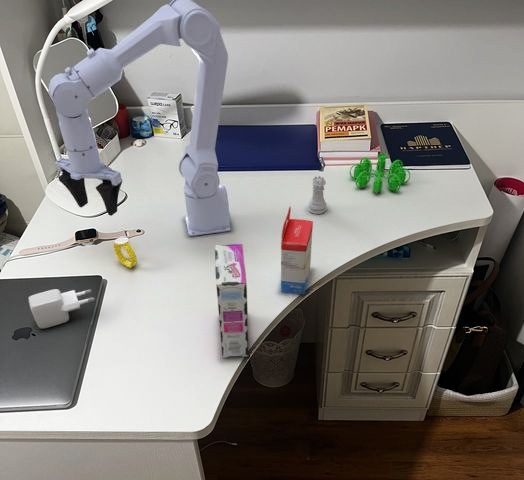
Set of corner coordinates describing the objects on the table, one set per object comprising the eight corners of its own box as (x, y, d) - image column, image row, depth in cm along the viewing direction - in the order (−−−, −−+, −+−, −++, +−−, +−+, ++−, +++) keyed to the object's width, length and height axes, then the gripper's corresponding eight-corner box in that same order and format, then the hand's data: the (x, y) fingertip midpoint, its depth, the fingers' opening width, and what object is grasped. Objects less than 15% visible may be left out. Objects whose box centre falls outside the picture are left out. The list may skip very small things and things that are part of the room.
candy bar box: (250, 357, 94) (247, 283, 82) (222, 359, 94) (214, 285, 82) (246, 315, 102) (243, 242, 90) (220, 317, 101) (213, 243, 90)
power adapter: (94, 300, 105) (86, 276, 101) (99, 315, 102) (92, 291, 98) (36, 317, 102) (25, 293, 98) (39, 333, 99) (29, 309, 95)
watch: (141, 267, 113) (136, 243, 109) (131, 273, 111) (125, 249, 107) (124, 256, 116) (118, 232, 111) (114, 261, 114) (107, 238, 110)
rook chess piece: (304, 212, 127) (306, 181, 121) (311, 203, 130) (312, 172, 124) (323, 216, 125) (325, 184, 120) (328, 206, 128) (331, 175, 123)
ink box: (304, 295, 105) (307, 231, 95) (280, 292, 106) (280, 228, 96) (310, 269, 111) (314, 206, 101) (287, 267, 112) (288, 204, 101)
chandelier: (345, 193, 133) (348, 167, 128) (352, 165, 143) (355, 140, 138) (407, 199, 130) (412, 173, 125) (409, 170, 140) (414, 144, 135)
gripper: (36, 146, 101) (57, 210, 111) (98, 161, 96) (114, 226, 106) (62, 131, 105) (80, 194, 115) (122, 145, 101) (135, 209, 110)
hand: (98, 209), depth 111 cm, fingers open, 7 cm apart
